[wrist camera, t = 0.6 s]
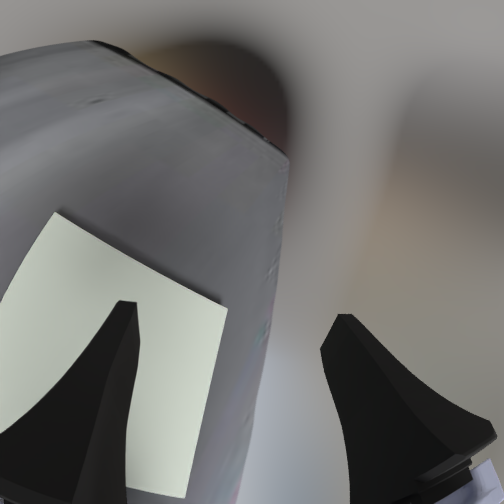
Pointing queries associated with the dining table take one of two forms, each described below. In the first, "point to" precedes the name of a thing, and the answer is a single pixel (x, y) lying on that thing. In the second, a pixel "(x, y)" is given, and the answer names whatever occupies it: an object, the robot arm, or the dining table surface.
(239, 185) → the dining table surface
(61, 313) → the board
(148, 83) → the dining table surface
